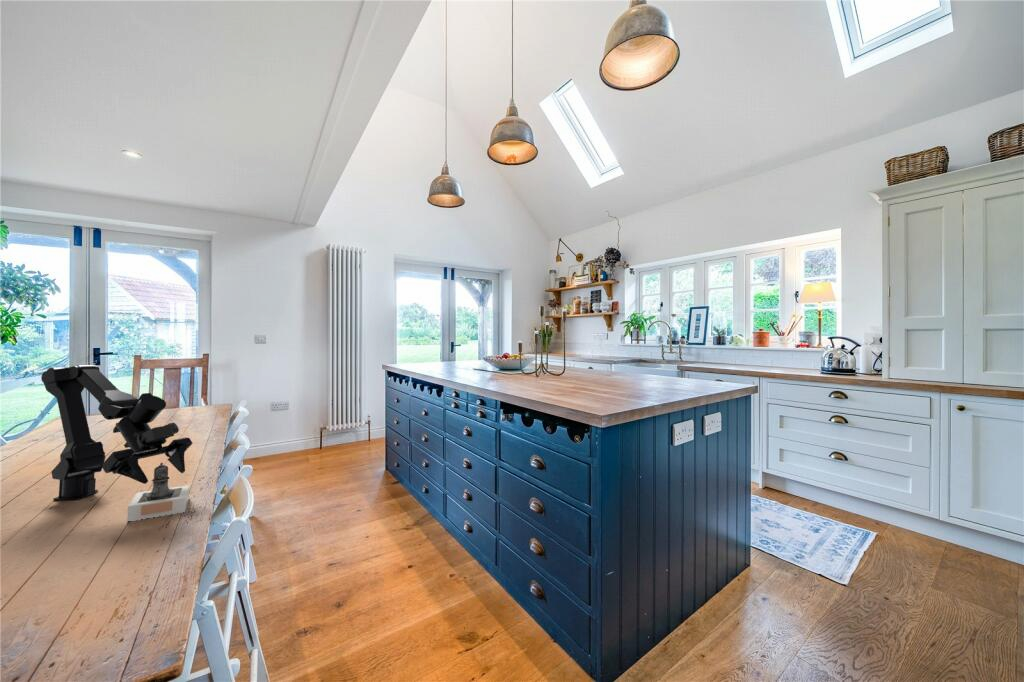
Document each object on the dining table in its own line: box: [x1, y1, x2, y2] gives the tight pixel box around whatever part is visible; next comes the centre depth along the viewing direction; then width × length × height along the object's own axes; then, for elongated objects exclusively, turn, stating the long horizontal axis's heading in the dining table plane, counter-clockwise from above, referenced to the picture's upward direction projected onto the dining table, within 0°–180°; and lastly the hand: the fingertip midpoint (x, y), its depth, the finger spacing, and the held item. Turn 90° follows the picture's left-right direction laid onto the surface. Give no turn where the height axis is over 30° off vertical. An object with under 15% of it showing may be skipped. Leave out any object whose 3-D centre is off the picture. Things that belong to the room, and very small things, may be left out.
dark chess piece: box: [145, 462, 174, 502], centre depth 105 cm, size 6×6×12 cm
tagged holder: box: [126, 484, 190, 523], centre depth 104 cm, size 11×12×4 cm
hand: (165, 477), depth 104 cm, fingers open, 9 cm apart
